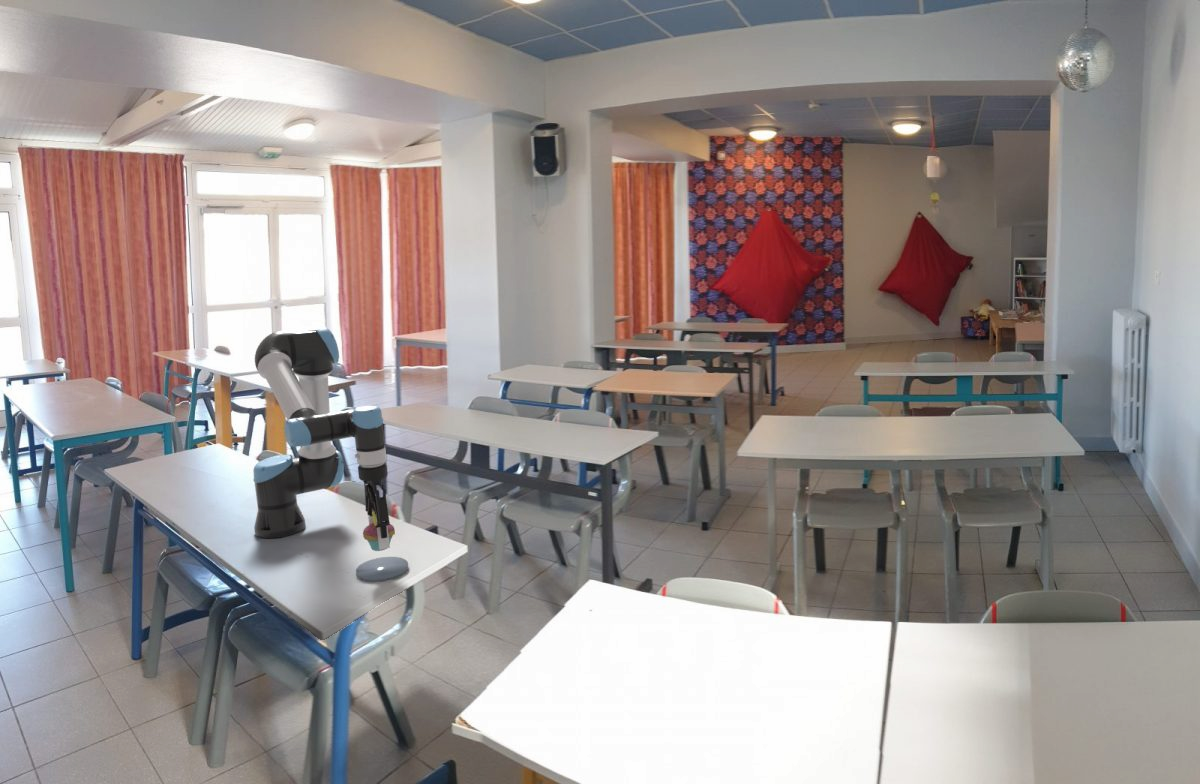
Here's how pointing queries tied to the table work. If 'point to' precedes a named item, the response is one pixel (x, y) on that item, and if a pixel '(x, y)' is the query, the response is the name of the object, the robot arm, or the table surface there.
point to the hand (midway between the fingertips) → (380, 543)
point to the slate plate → (382, 569)
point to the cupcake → (375, 534)
